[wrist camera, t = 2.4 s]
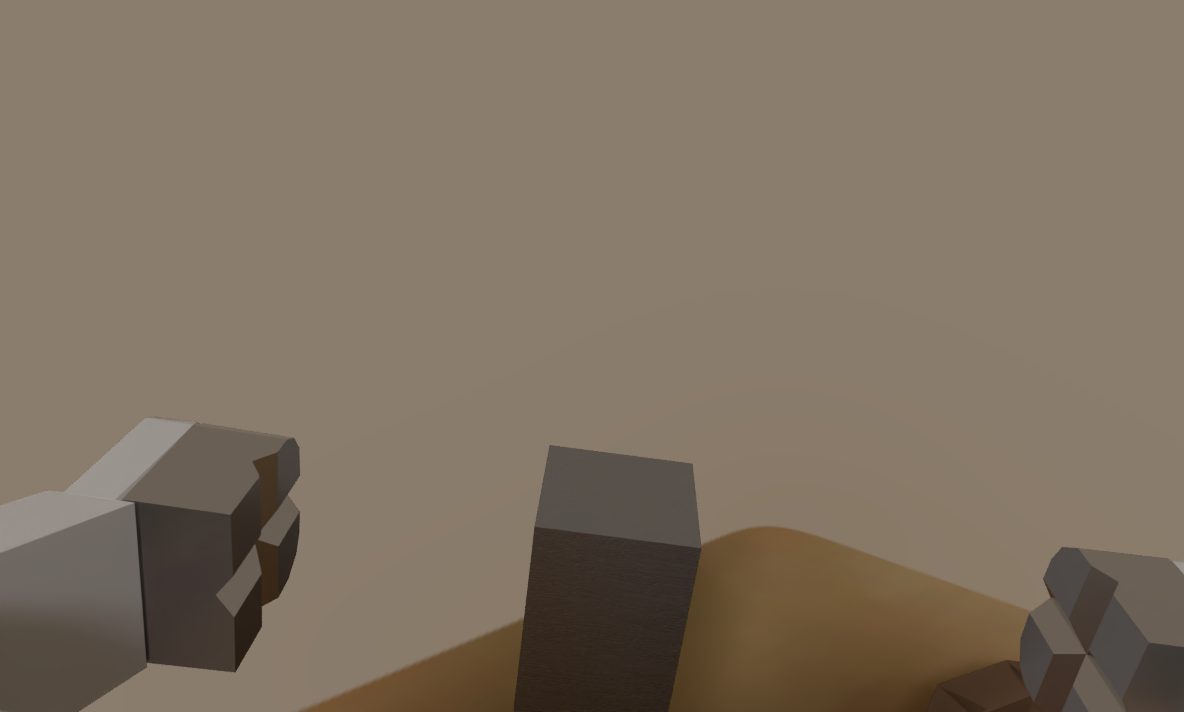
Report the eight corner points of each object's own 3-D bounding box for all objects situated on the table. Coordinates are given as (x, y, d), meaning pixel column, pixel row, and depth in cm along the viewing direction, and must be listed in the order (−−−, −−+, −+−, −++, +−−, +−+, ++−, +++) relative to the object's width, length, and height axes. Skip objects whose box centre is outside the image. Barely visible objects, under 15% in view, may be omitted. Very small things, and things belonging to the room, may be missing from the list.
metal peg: (632, 777, 30) (692, 463, 26) (632, 890, 27) (701, 548, 22) (512, 762, 30) (549, 444, 26) (494, 873, 27) (534, 526, 22)
